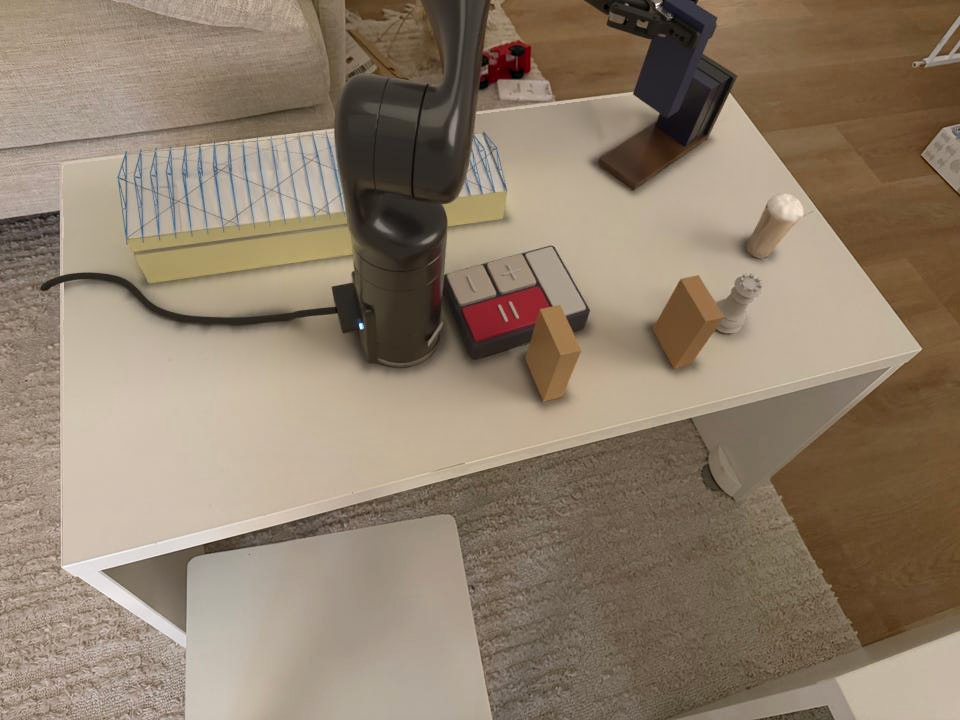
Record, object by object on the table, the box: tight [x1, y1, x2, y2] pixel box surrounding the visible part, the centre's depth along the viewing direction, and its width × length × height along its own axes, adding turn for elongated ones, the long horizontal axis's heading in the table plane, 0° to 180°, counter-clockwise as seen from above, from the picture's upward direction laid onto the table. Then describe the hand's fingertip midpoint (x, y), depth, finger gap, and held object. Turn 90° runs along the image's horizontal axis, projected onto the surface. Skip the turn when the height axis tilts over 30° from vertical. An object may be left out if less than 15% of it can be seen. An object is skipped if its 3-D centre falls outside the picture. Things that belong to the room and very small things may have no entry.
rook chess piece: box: [715, 273, 763, 334], centre depth 81 cm, size 4×4×8 cm
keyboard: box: [116, 131, 508, 284], centre depth 83 cm, size 45×15×10 cm, turn 105°
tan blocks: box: [524, 274, 724, 402], centre depth 75 cm, size 19×6×10 cm, turn 108°
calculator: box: [443, 245, 591, 360], centre depth 80 cm, size 11×4×15 cm
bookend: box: [597, 53, 738, 192], centre depth 95 cm, size 18×7×11 cm, turn 133°
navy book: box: [632, 0, 718, 118], centre depth 83 cm, size 3×6×13 cm, turn 43°
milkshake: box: [745, 192, 814, 259], centre depth 87 cm, size 4×5×10 cm
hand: (704, 36), depth 79 cm, fingers closed on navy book, 2 cm apart
